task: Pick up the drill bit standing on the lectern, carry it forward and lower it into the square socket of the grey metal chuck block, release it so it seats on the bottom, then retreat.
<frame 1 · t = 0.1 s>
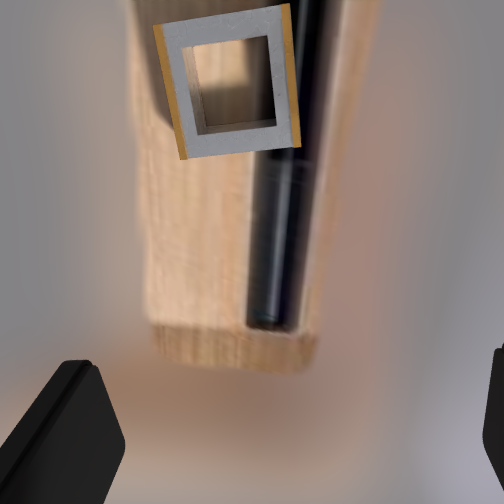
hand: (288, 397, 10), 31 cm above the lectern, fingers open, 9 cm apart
chuck block: (237, 83, 36), on the lectern
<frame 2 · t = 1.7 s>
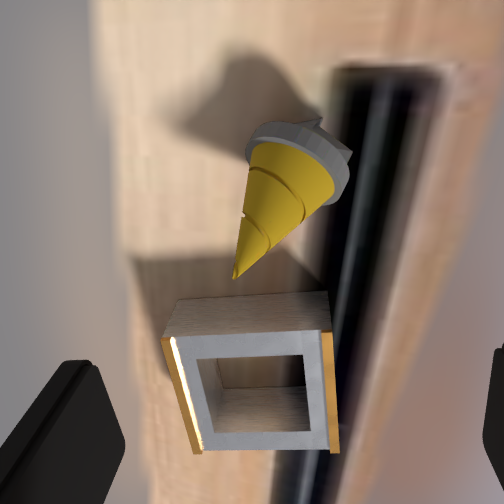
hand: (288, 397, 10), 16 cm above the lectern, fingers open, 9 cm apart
drill bit: (292, 171, 24), on the lectern
chuck block: (260, 353, 31), on the lectern
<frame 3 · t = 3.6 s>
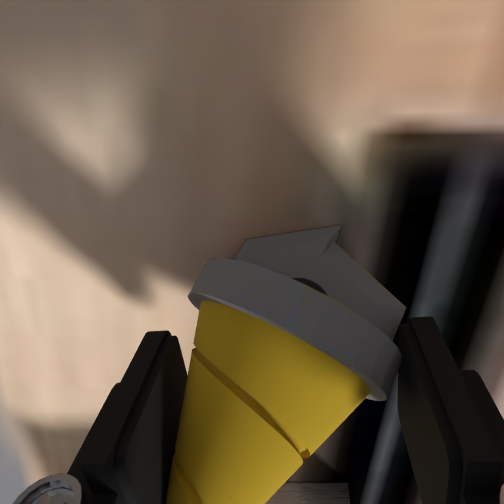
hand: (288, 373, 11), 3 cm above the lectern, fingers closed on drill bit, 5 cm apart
drill bit: (284, 309, 13), on the lectern, touching gripper
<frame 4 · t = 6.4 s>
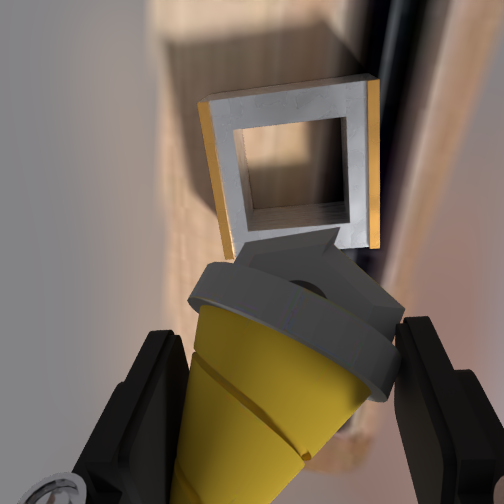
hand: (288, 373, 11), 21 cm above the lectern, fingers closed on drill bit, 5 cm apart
drill bit: (284, 311, 13), point 18 cm above the lectern, touching gripper
chuck block: (294, 161, 29), on the lectern
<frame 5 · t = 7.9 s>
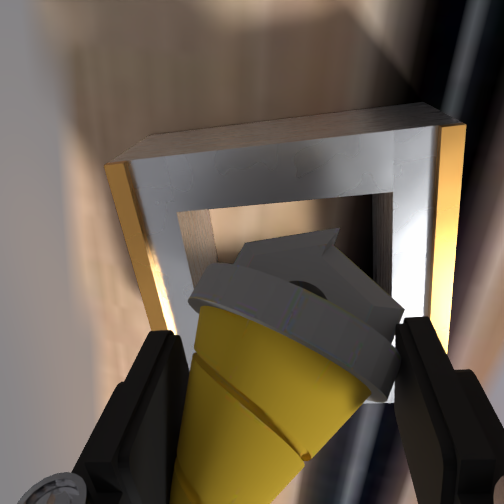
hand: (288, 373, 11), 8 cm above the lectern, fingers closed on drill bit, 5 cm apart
drill bit: (284, 311, 13), point 5 cm above the lectern, touching gripper
chuck block: (292, 242, 18), on the lectern
when the fingers open (5 cm above the lectern, at t = 9.1 s): drill bit drops 2 cm, resting on chuck block.
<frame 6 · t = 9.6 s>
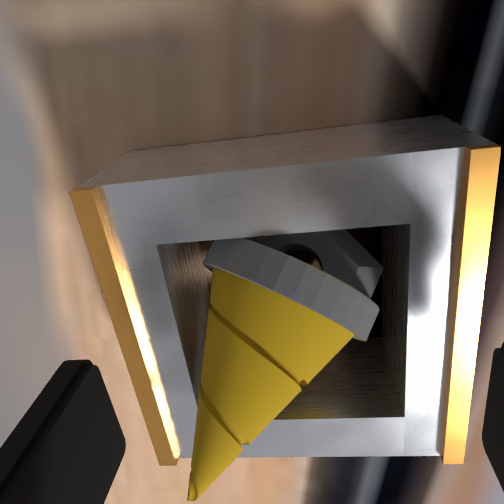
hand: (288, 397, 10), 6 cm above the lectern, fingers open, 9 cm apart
drill bit: (278, 260, 16), resting on chuck block
chuck block: (291, 270, 16), on the lectern
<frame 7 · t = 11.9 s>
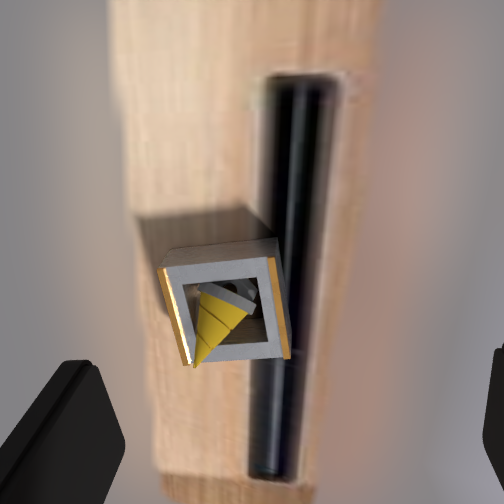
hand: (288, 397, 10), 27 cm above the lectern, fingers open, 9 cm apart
drill bit: (227, 287, 41), resting on chuck block
chuck block: (232, 291, 41), on the lectern
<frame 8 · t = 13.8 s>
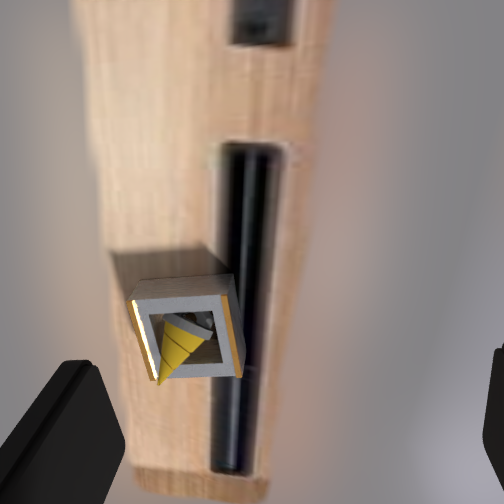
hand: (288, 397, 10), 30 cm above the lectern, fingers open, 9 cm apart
drill bit: (190, 313, 46), resting on chuck block
chuck block: (195, 316, 47), on the lectern
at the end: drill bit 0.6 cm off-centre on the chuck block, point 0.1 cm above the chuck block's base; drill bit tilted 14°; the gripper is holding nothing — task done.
